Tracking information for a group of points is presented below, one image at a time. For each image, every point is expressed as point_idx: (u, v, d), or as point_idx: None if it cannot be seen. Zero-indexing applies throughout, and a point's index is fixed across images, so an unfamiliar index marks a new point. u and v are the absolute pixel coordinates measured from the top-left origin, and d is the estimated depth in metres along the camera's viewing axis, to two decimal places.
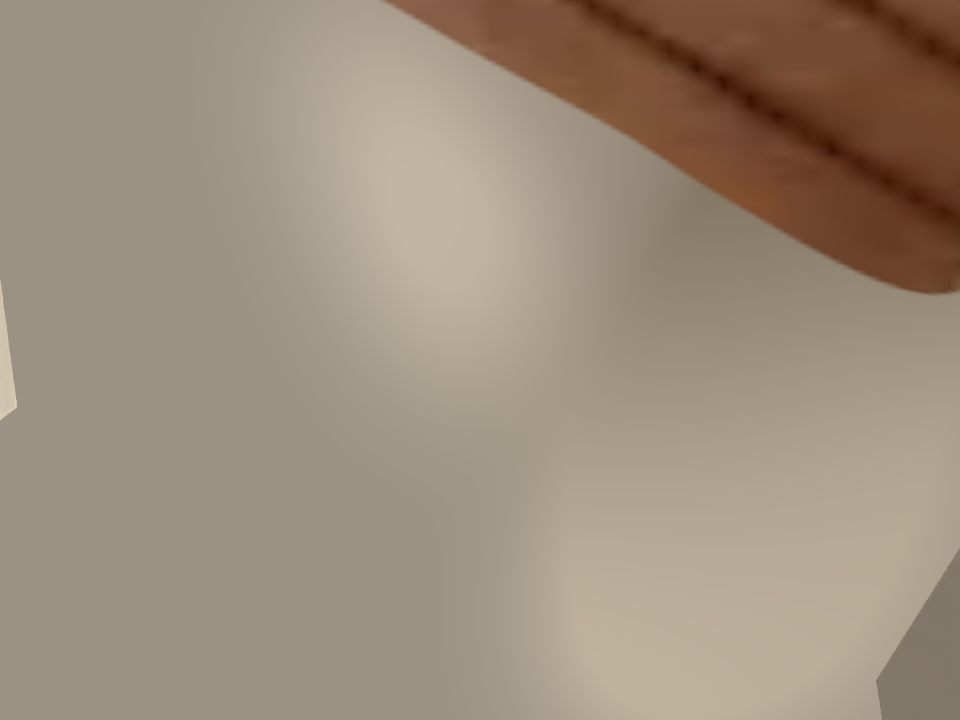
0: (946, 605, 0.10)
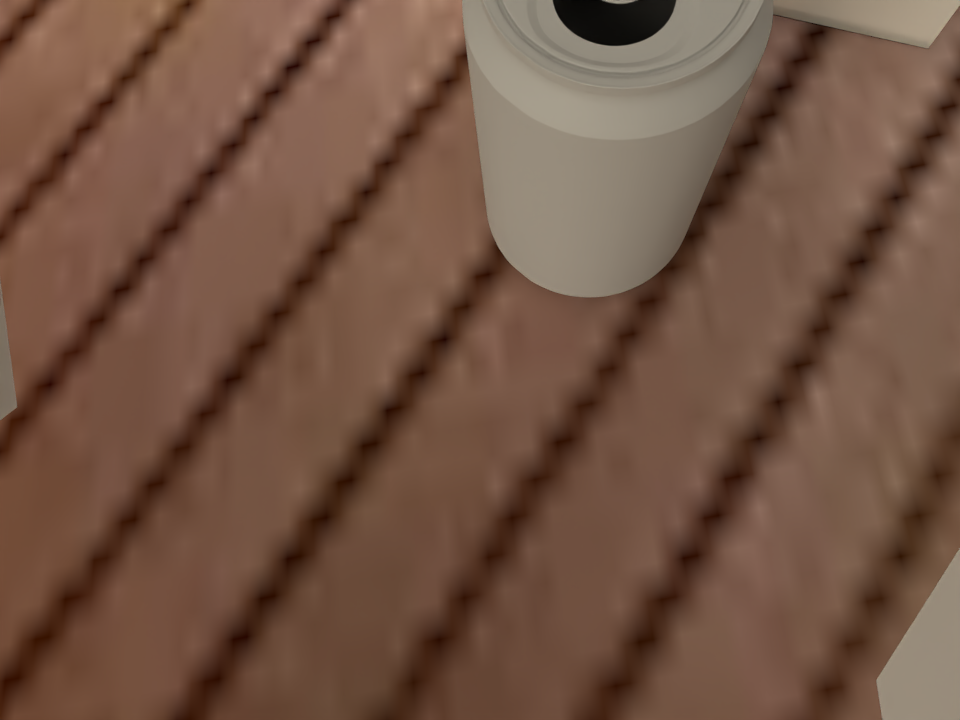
0: (945, 604, 0.10)
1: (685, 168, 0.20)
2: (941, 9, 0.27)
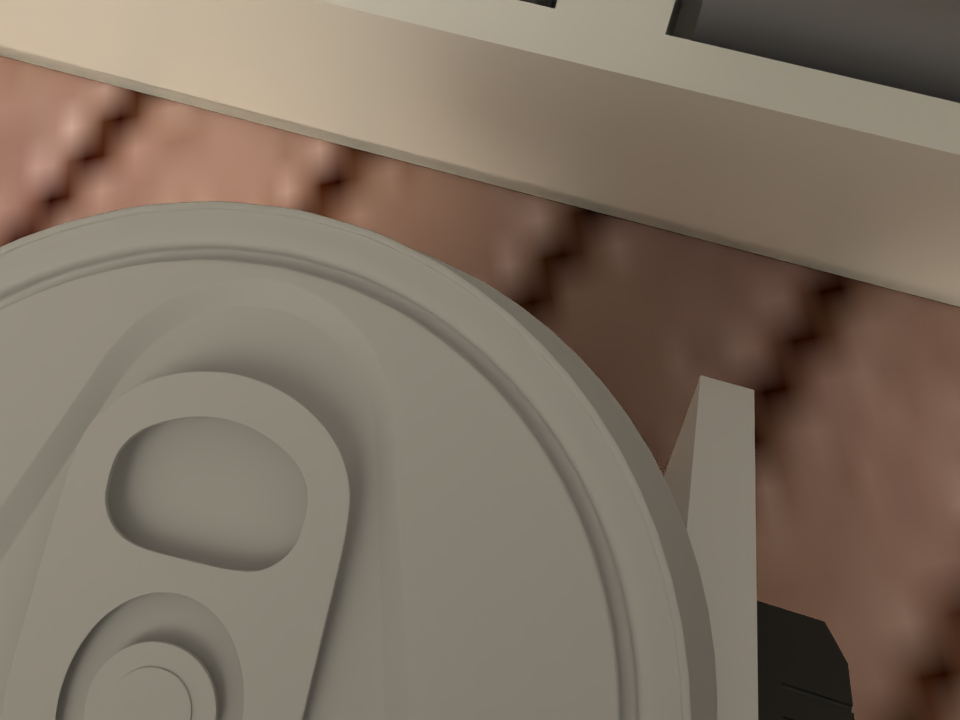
0: (681, 437, 0.12)
1: None
2: None
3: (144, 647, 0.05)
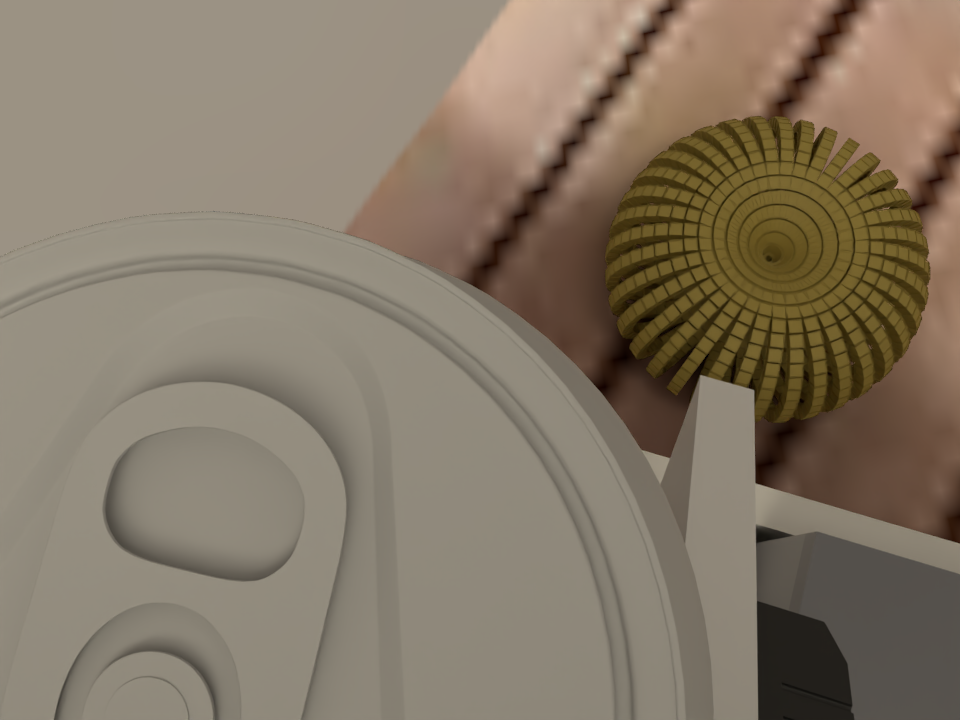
0: (681, 438, 0.12)
1: None
2: None
3: (139, 657, 0.05)
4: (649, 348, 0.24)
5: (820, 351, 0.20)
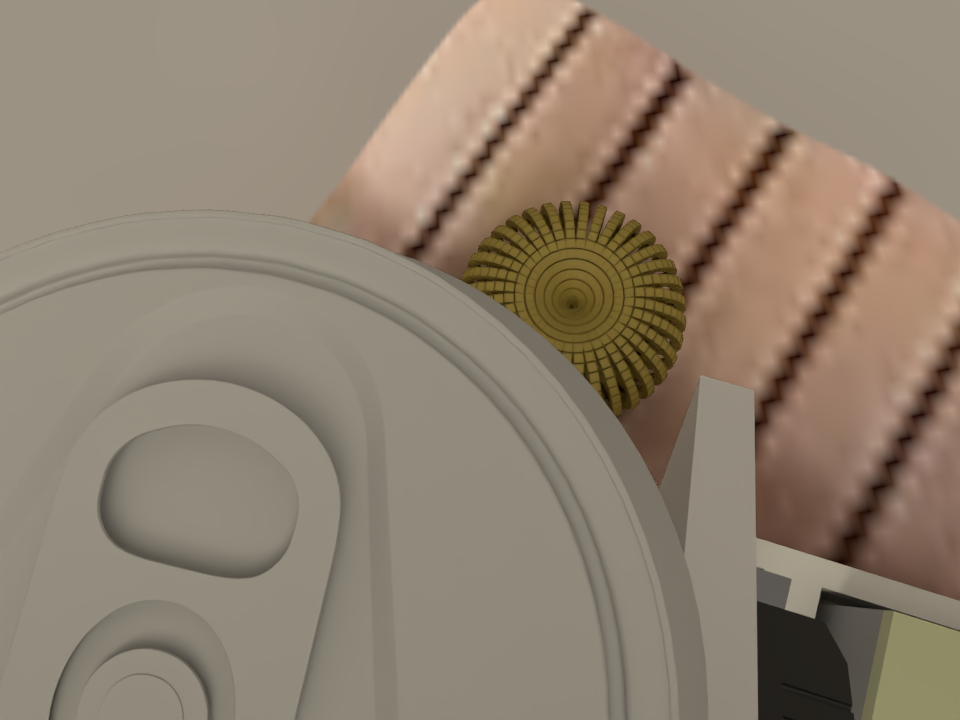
0: (681, 437, 0.12)
1: None
2: None
3: (134, 653, 0.05)
4: None
5: (595, 376, 0.29)
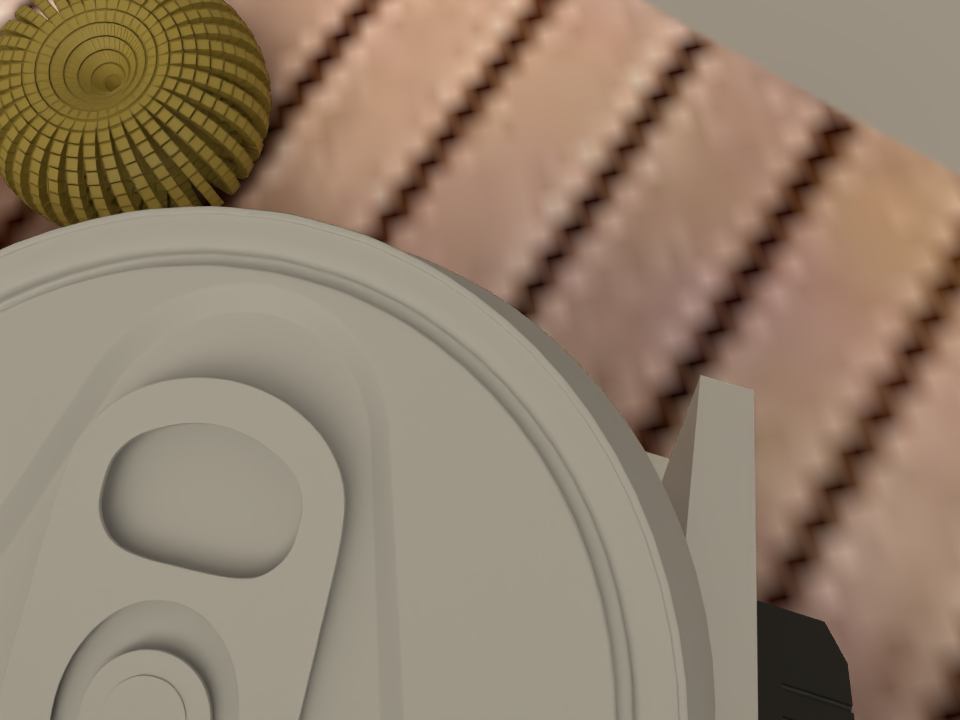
0: (681, 438, 0.12)
1: None
2: None
3: (136, 656, 0.05)
4: None
5: (110, 160, 0.23)
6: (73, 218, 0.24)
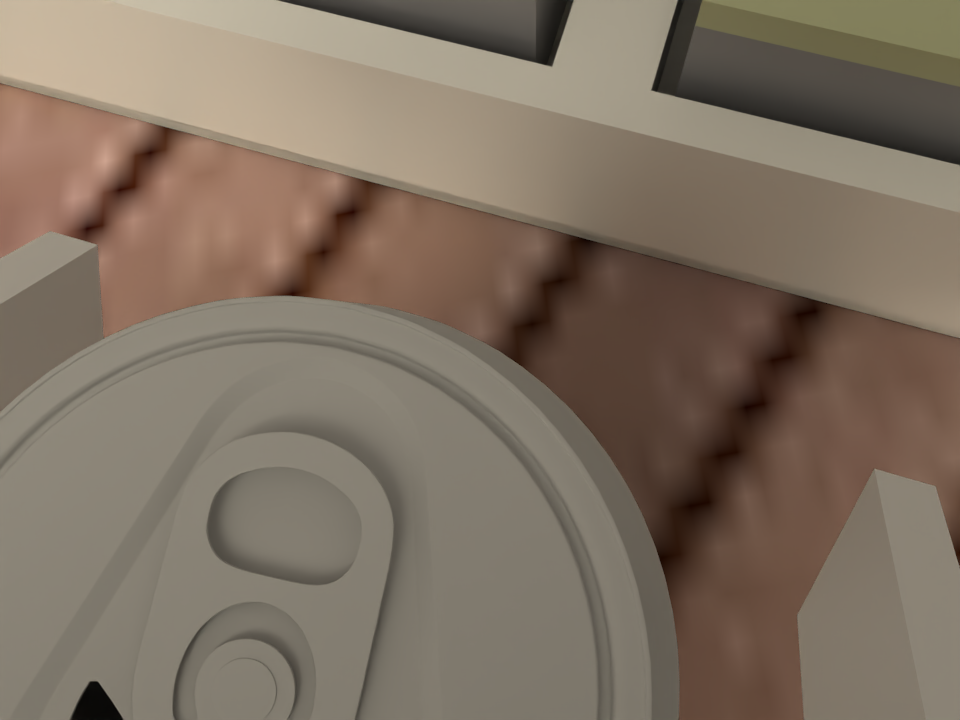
0: (852, 538, 0.11)
1: None
2: None
3: (237, 642, 0.06)
4: None
5: None
6: None
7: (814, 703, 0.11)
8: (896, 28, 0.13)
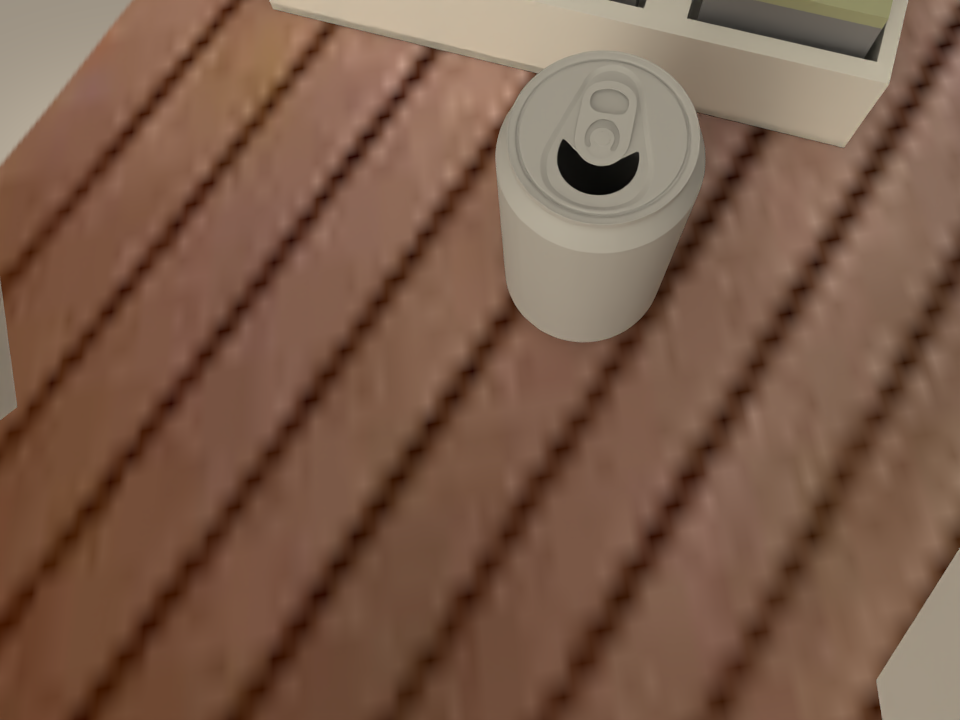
0: (946, 605, 0.10)
1: (648, 264, 0.28)
2: (849, 122, 0.36)
3: (599, 129, 0.26)
4: None
5: None
6: None
7: None
8: None
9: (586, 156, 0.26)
